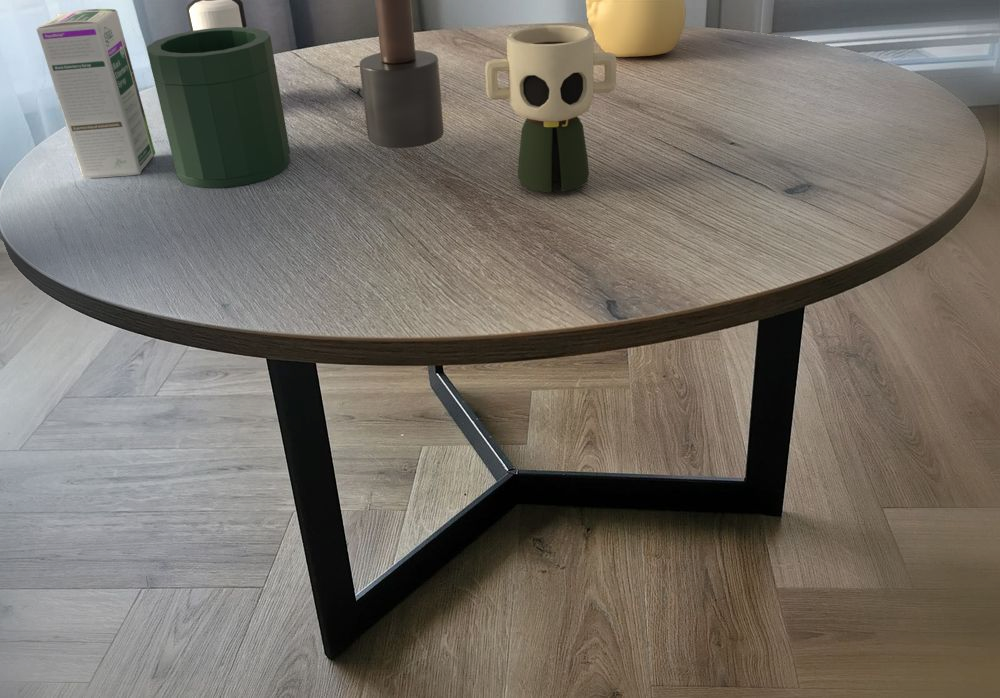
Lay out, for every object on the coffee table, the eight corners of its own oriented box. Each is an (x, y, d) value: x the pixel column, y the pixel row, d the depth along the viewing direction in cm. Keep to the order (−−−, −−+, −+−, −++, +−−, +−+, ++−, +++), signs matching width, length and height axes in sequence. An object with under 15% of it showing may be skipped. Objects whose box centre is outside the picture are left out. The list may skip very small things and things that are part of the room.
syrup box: (141, 175, 92) (101, 20, 85) (79, 179, 92) (34, 24, 85) (156, 155, 97) (119, 6, 90) (98, 159, 97) (56, 10, 90)
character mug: (493, 204, 82) (484, 49, 75) (490, 174, 88) (482, 28, 81) (620, 196, 82) (623, 40, 75) (609, 166, 88) (610, 20, 81)
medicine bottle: (203, 102, 113) (180, -5, 107) (264, 94, 114) (245, -11, 108) (202, 119, 107) (178, 8, 101) (267, 111, 108) (247, 0, 102)
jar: (160, 189, 89) (128, 58, 83) (198, 149, 98) (171, 29, 92) (274, 186, 88) (250, 54, 82) (302, 146, 97) (282, 24, 91)
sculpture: (610, 39, 128) (611, -47, 123) (696, 46, 123) (701, -44, 117) (573, 61, 120) (571, -31, 114) (663, 69, 115) (666, -27, 109)
